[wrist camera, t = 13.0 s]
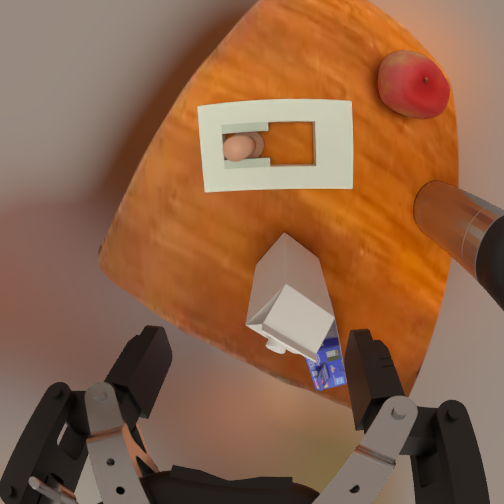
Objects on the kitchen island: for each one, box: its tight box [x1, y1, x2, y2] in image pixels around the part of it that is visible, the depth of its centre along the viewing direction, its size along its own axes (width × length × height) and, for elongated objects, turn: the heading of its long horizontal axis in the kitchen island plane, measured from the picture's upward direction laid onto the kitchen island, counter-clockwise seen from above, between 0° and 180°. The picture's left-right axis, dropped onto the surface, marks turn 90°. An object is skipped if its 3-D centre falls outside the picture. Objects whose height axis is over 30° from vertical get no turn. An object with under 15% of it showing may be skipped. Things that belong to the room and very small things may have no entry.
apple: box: [378, 51, 450, 119], centre depth 25 cm, size 10×10×10 cm
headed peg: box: [223, 131, 264, 162], centre depth 31 cm, size 5×5×11 cm
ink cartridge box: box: [305, 297, 346, 391], centre depth 40 cm, size 10×6×14 cm, turn 20°
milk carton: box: [246, 232, 335, 362], centre depth 34 cm, size 7×7×19 cm
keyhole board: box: [197, 99, 353, 192], centre depth 34 cm, size 20×12×3 cm, turn 93°
